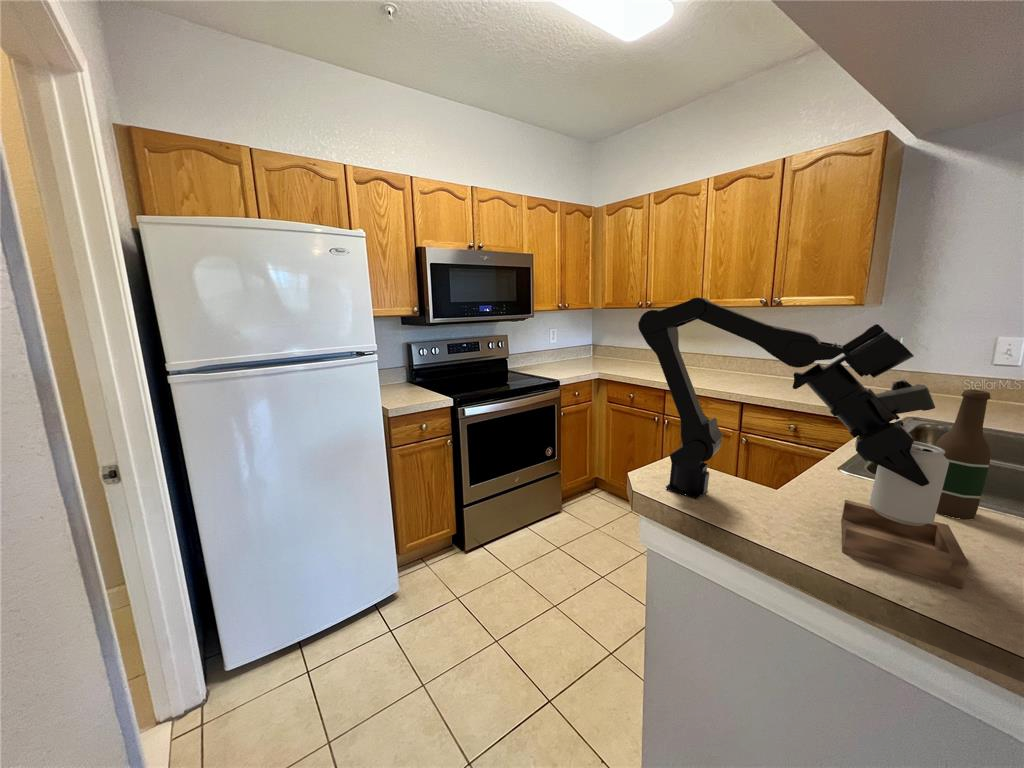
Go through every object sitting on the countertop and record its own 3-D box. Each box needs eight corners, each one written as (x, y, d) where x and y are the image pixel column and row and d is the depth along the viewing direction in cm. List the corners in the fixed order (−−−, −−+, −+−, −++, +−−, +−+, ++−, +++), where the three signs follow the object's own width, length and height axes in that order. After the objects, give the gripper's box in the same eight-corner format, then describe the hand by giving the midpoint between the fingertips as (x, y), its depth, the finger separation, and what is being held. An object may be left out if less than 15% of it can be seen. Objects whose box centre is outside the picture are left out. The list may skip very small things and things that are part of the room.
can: (927, 534, 58) (947, 457, 56) (862, 512, 64) (877, 441, 62) (936, 519, 63) (956, 447, 60) (874, 500, 69) (890, 433, 66)
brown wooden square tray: (842, 552, 63) (846, 529, 63) (841, 519, 73) (845, 499, 73) (961, 588, 55) (968, 563, 55) (942, 547, 65) (948, 524, 65)
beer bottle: (928, 514, 76) (958, 392, 72) (912, 497, 83) (938, 385, 79) (986, 525, 73) (1021, 397, 68) (964, 507, 80) (994, 389, 75)
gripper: (906, 371, 54) (1009, 470, 49) (891, 359, 68) (970, 435, 64) (823, 415, 60) (906, 507, 56) (825, 396, 75) (892, 467, 70)
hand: (921, 476), depth 61 cm, fingers closed on can, 7 cm apart
